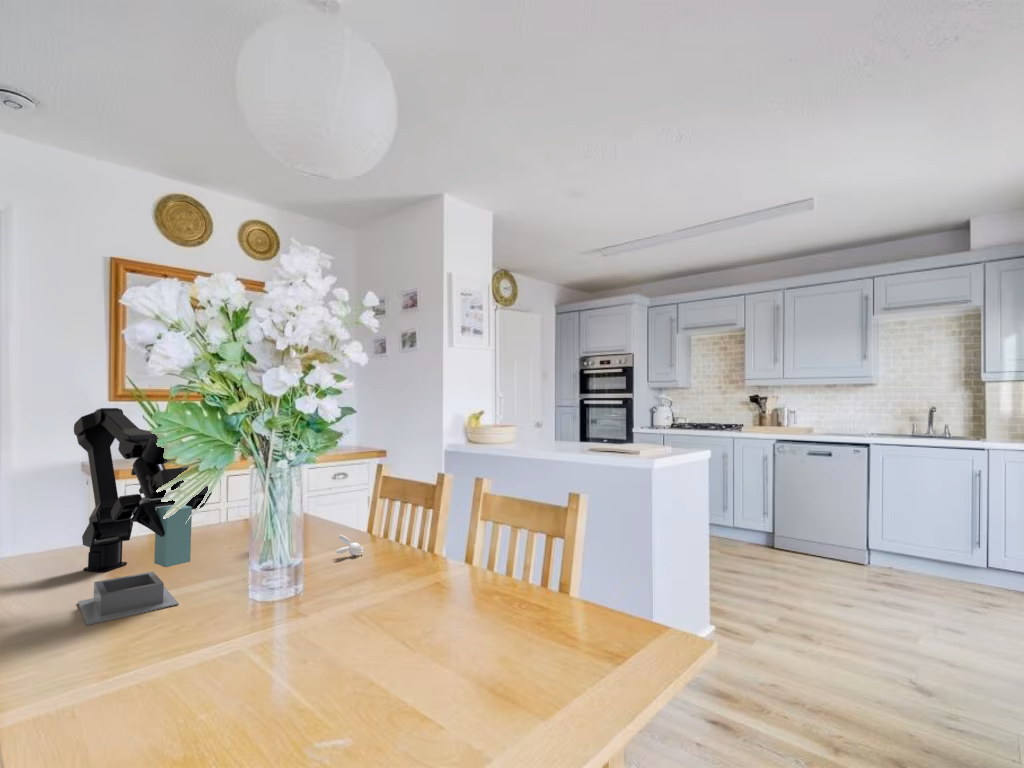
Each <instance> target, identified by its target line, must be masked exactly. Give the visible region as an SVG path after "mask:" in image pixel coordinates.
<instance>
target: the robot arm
mask: <svg viewBox="0 0 1024 768" xmlns="http://www.w3.org/2000/svg"><path fill="white" fill-rule="evenodd" d="M151 432H152V431H150V430H147V429H141V428H139V427H138V426H137V425H136V424H135V423H134V422H132V421H131V419H129V417H127V416H126V415H125V414H124V411H123V410H122V409H121V408H118V407H101V408H97V409H96V410H95V411H94V412H91V413H88V414H86V415H83V416H81V417H80V418H79V419H77V421H76V422H75V423H74V425H73V434H74V435H75V436H76V439H77V444H78V445H79V446H80V447H81V448H82V449H83V450H84V451H85V452H87V457H88V463H89V464H88V465H89V470H90V477H91V478H90V479H91V483H92V484H91V485H92V491H93V498H94V505H95V506H94V509H93V510H92V512H91V514H90V516H89V518H88V522H89V523H88V525H87V527H86V528H85V530H84V533H83V534H82V536H81V540H82V545H83V546H85V547H88V548H89V552H88V554H87V555H88V556H87V557H88V558H87V559H88V560H87V566H85V567H83V571H90V572H91V571H92V572H108V571H111V570H114V569H118V568H119V567H123V566H125V565H128V561H123V542H127V541H131V540H130V539H131V535H132V533H133V531H132V530H133V526H134V523H138V524H140V525H142V526H144V527H146V528H147V529H149V530H150V531H151V532H153V533H154V534H155V533H156V534H158V535H159V536H161V537H163V536H164V535H165V532H164V529H163V526H162V524H161V522H160V519H159V517H158V515H157V513H156V508H159V507H166V506H172V505H174V503H175V501H173V500H172V501H168V502H161V499H162V498H163V497H164V495H165V493H166V490H163V491H161V492H158V493H157V492H156V490H157V489H158V488H159V487H161V486H162V485H164V484H166V483H168V482H169V481H171V480H173V479H174V478H176V477H177V476H178V475H179V474H181V473H182V472H184V471H186V470H187V469H188V468H189V466H186V465H184V466H185V467H181V466H180V467H174V468H166V466H165V464H167V463H170V461H171V459H170V460H167V459H164V458H163V453H164V448H161V447H157V445H156V443H157V439H158V438H157V436H156V435H155V434H152V433H151ZM115 439H116V440H117V441H118V448H117V450H118V451H119V453H120V455H121V456H122V457H123V458H124V460H135V461H133V464H132V470H131V476H136V478H137V481H138V483H139V486H140V488H139V489H138V492H139V493H136V494H135V493H134V494H125V495H120V496H119V495H118V488H117V482H116V476H115V470H114V469H115V468H114V464H113V457H112V450H111V446H112V444H113V443H114V441H115ZM183 483H185V482H184V481H183V480H182V481H179V482H177V483H176V484H174V485H173V486H172V487H171V490H174V489H176V488H178V487H180V486H181V485H183ZM205 486H206V487H205V488H204V489H203V490H202V491H201V492H200V493H199V494H198V495H196V496H195V497H193V498H192V499H191V500H190V501H189V502H188V503H187V504H186V506H190V507H192V511H193V510H197V509H196V508H197V506H198V505H199V504H200V503H201V501H202V500H203V498H204V496H205V494H206V493H207V491H208V487H209V486H208V485H205ZM212 493H213V492H212V491H211V493H210V494H209V496H208V497H207V499H206V501H205V503H203V504H202V505H201V506H200V508H199V509H201V508H203V507H205V505H206V504H207V501H208V500H209V499H210V497H211V495H212ZM142 494H143V497H142Z"/></svg>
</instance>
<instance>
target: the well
mask: <svg viewBox="0 0 1024 768" xmlns="http://www.w3.org/2000/svg"><path fill="white" fill-rule="evenodd" d="M164 585H165V584H164V582H163V581H162V579H161V578H160V577H159V576H158V574H157V573H155V572H154V571H149V572H141V573H137V574H133V575H132V574H131V575H127V576H126V575H125V576H120V577H115V578H110V579H109V578H108V579H105V580H98V581H94V582H93V598H86V599H83V600H78V602H77V604H78V606H79V609H80V613H81V614H82V617H83V620H84V621H85V625H86V626H90V625H95V624H100V623H105V622H110V621H113V619H114V620H116V619H122V618H127V617H132V616H135V615H140V613H141V614H145V613H149V611H150V612H154V611H157V609H159V610H162V608H163V609H166V608H165V607H168V608H170V607H169V606H172V607H175V606H174V605H177V606H179V605H178V604H179V601H177V600H176V599H175V597H174V595H173V594H171V592H170V591H169V590H168V589H167V588H166V586H164ZM153 610H154V611H153ZM144 612H145V613H144ZM104 621H105V622H104Z"/></svg>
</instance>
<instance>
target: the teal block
mask: <svg viewBox="0 0 1024 768" xmlns="http://www.w3.org/2000/svg"><path fill="white" fill-rule="evenodd" d="M172 506H173V505H171V506H165V507H158V508H156V513H157V515H158V517H159V519H160V522H161V524H162V526H163V529H164V532H165V535H164V536H163V537H161V536H159V535H158V534H156V533H155V532H154V561H153V562H154V564H155V565H158V566H161V567H164V568H169V567H173V566H178V565H181V564H186V563H189V562H191V553H192V552H191V549H192V548H191V547H192V544H191V543H192V517H193V516H191V517H190V519H189V520H188V518H189V516H190V515H191V514H192V513H193V510H192V507H190V506H186V505H185V506H184V507H182V508H181V509H179V510H178V511H177V512H176V513H175V514H174V515H172V516H170V517H169V518H166V519H163V516H164V515H165V514H166V512H167V511H168V510H169V509H170V508H171V507H172ZM192 515H193V514H192ZM187 520H188V521H187ZM186 521H187V523H186ZM185 523H186V524H185Z"/></svg>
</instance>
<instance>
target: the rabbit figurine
mask: <svg viewBox="0 0 1024 768" xmlns="http://www.w3.org/2000/svg"><path fill="white" fill-rule="evenodd" d="M338 539H339V540H340V541H341V543H343V544H344V545H347V546H343V547H340V548H338V549H337V550H336V554H340V555H341V554H345V553H347V552H348V553H349V555H351V556H352V555H355V556H356V554H357V555H358V554H359V553H360V554H361V553H363V552H364V548H363V546H361V544H359V543H358V542H352V540H351V539H349V538H348V537H347V536H345V535H342V534H338ZM363 554H364V553H363Z"/></svg>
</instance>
